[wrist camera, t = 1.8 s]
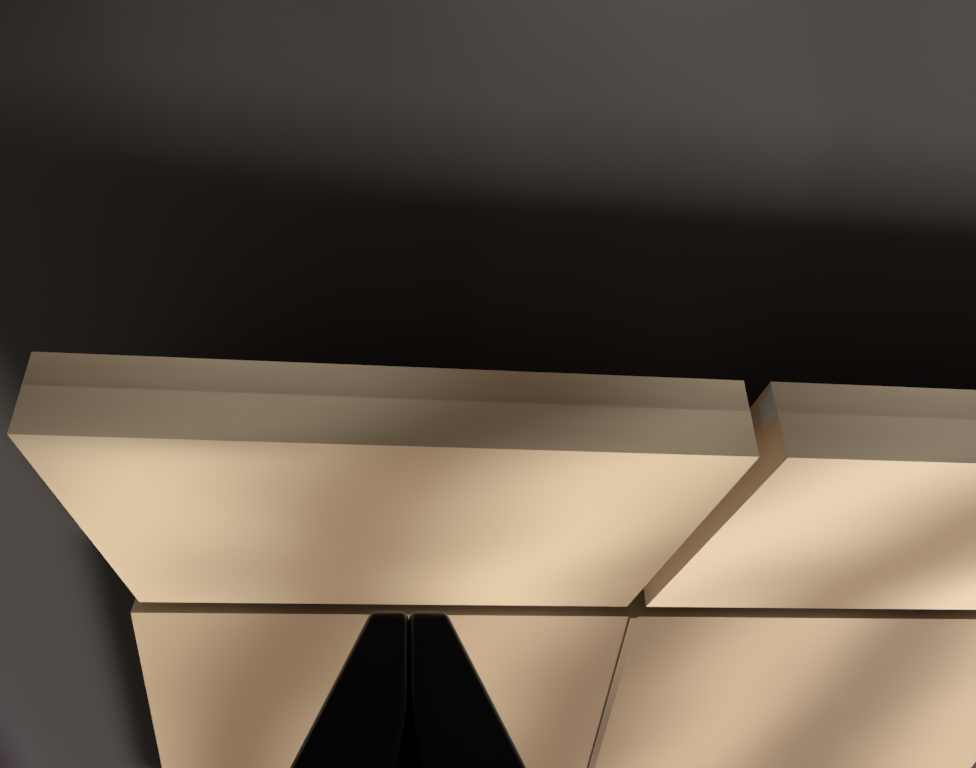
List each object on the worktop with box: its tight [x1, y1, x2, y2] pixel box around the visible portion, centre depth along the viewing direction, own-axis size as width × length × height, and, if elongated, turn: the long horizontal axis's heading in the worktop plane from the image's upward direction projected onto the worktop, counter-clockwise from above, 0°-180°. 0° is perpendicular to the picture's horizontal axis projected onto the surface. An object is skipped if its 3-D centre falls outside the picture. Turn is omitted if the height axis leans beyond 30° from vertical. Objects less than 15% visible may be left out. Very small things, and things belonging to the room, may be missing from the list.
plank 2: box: [644, 382, 976, 610], centre depth 15 cm, size 10×7×1 cm
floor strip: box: [131, 588, 976, 768], centre depth 20 cm, size 20×8×1 cm, turn 85°
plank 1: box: [7, 352, 760, 607], centre depth 14 cm, size 10×7×1 cm
